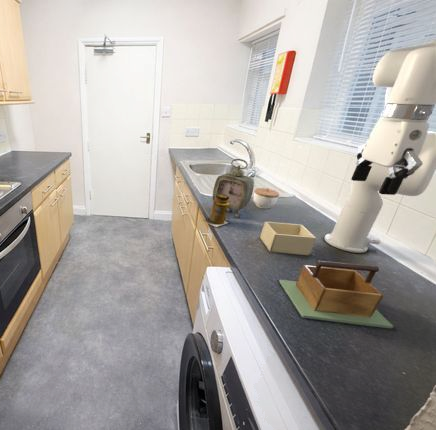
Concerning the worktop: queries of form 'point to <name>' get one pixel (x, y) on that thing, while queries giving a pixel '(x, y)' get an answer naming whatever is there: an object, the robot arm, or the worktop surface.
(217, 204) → the condiment
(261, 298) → the worktop surface
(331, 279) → the wooden basket
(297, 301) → the green mat
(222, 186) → the tabletop clock
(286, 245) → the cream basket
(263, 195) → the trinket box
